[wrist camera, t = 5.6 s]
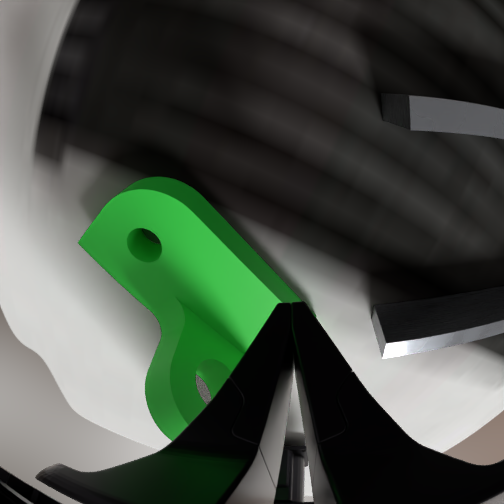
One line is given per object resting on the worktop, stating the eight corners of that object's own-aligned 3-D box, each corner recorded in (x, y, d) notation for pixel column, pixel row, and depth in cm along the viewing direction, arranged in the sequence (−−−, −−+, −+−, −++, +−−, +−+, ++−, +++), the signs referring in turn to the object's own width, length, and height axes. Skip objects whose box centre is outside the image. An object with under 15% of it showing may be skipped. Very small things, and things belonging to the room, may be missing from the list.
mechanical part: (315, 313, 17) (326, 442, 10) (238, 352, 19) (221, 463, 12) (161, 150, 13) (45, 227, 6) (96, 225, 15) (6, 319, 8)
